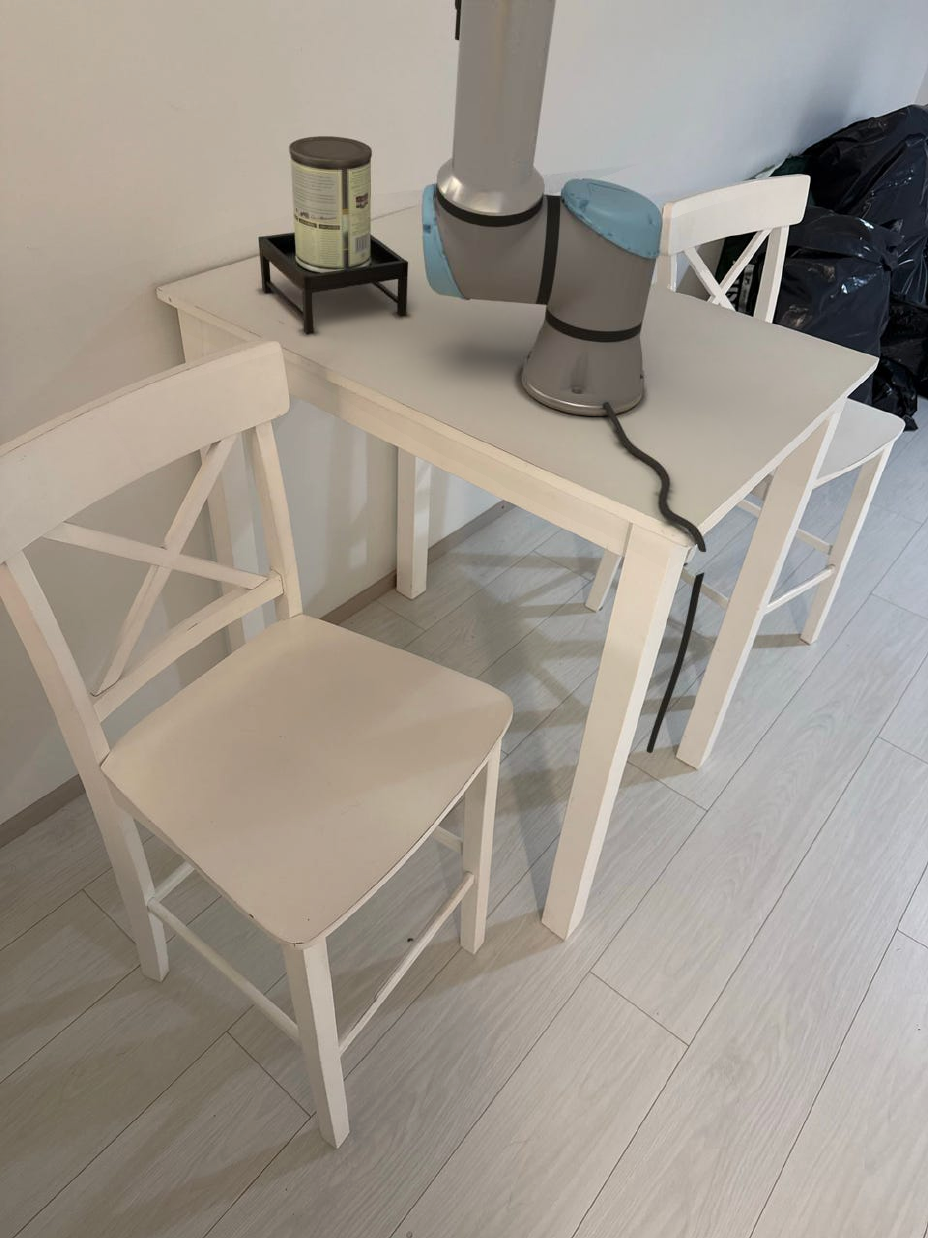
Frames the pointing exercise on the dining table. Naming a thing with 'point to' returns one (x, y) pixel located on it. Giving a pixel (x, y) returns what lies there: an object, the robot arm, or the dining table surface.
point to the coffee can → (331, 202)
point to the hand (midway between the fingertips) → (496, 49)
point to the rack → (330, 274)
